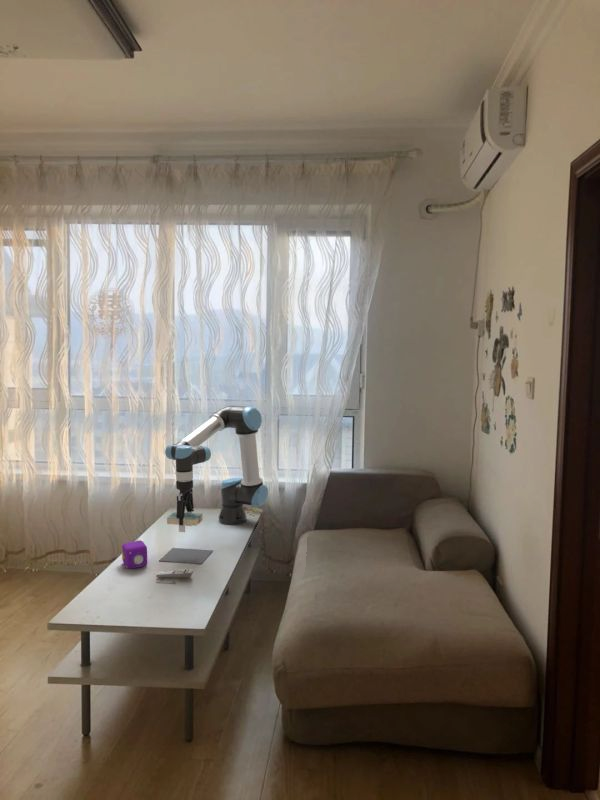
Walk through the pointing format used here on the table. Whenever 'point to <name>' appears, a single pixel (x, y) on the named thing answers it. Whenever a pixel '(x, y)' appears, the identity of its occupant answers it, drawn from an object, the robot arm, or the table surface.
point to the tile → (189, 518)
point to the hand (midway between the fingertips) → (185, 528)
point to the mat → (186, 556)
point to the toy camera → (134, 554)
